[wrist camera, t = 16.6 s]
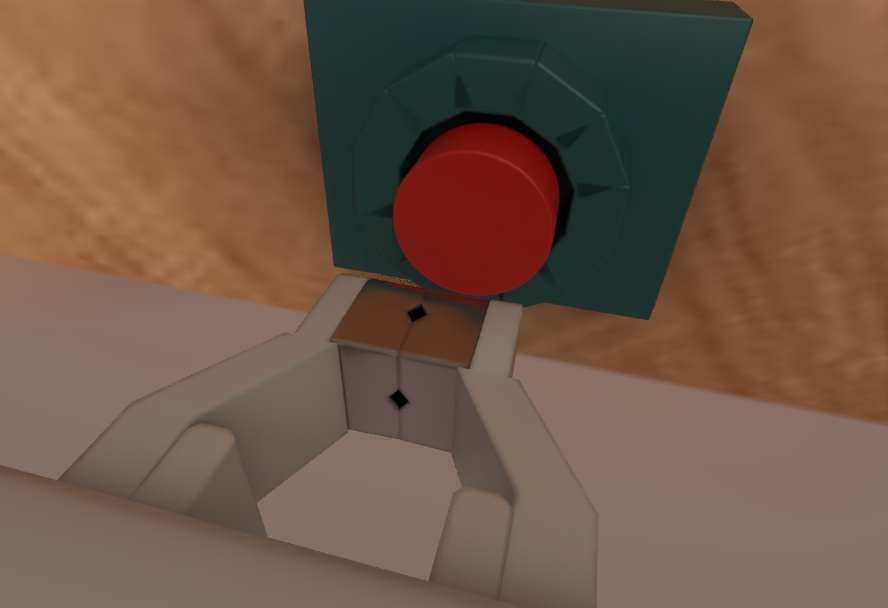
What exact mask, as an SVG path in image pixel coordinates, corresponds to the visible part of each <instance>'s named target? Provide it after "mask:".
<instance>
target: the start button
mask: <svg viewBox="0 0 888 608" xmlns="http://www.w3.org/2000/svg"><path fill="white" fill-rule="evenodd" d="M559 199H560V197H559V185H558V180H557V177H556V174H555V171H554V169H553V167H552V165H551V163H550V161H549V160H548V158H547V157H546V155H545V154H544V152H543V151H542V150H541V149H540V148H539V147H538V146H537V145H536V144H535V143H534V142H532V141H531V140H530V139H529V138H527V137H526V136H524V135H523V134H521V133H519V132H517V131H515V130H513V129H511V128H508V127H505V126H502V125H497V124H491V123H472V124H466V125H461V126H458V127H455V128H453V129H450V130H448V131H447V132H445V133H443V134H441V135H440V136H439V137H437V138H436V139H435V140H434V141H433V142H432V143H431V144H430V145H429V146H428V147H427V148H426V150H425V151H424V152H423V154H422V155H421V156H420V158H419V159H418V160H417V162H416V163H415V164H414V166H413V167H412V169H411V170H410V171H409V173H408V174H407V175H406V177H405V178H404V179H403V181H402V183H401V185H400V186H399V188H398V191H397V194H396V197H395V201H394V206H393V223H394V229H395V233H396V237H397V240H398V242H399V245H400V247H401V249H402V251H403V253H404V254H405V256H406V257H407V258H408V260H409V261H410V262H411V264H412V265H413V266H414V267H415V268H416V269H417V270H418V271H419V272H420V273H421V274H422V275H424V276H425V277H426V278H428V279H429V280H431V281H432V282H434V283H436V284H437V285H439V286H441V287H443V288H446V289H448V290H451V291H454V292H457V293H461V294H466V295H474V296H487V295H495V294H500V293H504V292H507V291H510V290H512V289H514V288H517V287H519V286H521V285H522V284H523V283H525V282H526V281H528V280H529V279H530V278H532V277H533V276H534V275H535V274H536V273H537V272H538V271H539V269H540V268H541V267H542V266H543V264H544V262H545V261H546V259H547V257H548V255H549V253H550V250H551V247H552V243H553V238H554V232H555V226H556V220H557V214H558V208H559Z"/></svg>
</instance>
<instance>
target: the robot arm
mask: <svg viewBox="0 0 888 608" xmlns="http://www.w3.org/2000/svg"><path fill="white" fill-rule="evenodd" d="M522 313H523V306H522V304H516V303H510V302H503V301H496V300H491V301H489V300H483V299H477V298H471V297H465V296H460V295H454V294H448V293H442V292H436V291H430V290H428V289H423V288H417V287H412V286H407V285H402V284H397V283H392V282H387V281H382V280H377V279H369V278H366V277H360V276H355V275H349V274H344V273H342V274H340V275H337V276H336V277H335V278H334V279H333V281H332V282H331V283H330V285H329V286H328V288H327V289H326V290H325V292H324V293H323V295H322V296H321V297H320V299H319V300H318V301H317V303H316V304H315V306H314V307H313V308H312V310H311V311H310V312H309V314H308V315H307V317H306V318H305V319H304V321H303V322H302V323H301V325H300V326H299V328H298V329H297V330H296V332H295V333H294V334H289V333H283V334H281V335H279V336H276V337H274V338H272V339H270V340H268V341H266V342H263V343H261V344H259V345H257V346H254V347H252V348H250V349H248V350H246V351H243V352H241V353H239V354H237V355H235V356H233V357H230V358H228V359H226V360H224V361H221V362H219V363H217V364H215V365H213V366H210V367H208V368H206V369H204V370H202V371H199V372H197V373H195V374H193V375H190V376H188V377H186V378H184V379H182V380H179V381H177V382H175V383H173V384H171V385H168V386H166V387H164V388H162V389H160V390H158V391H155V392H153V393H151V394H149V395H146V396H144V397H143V398H140V399H138V400H135V401H133V402H131V403H130V404H129V405H128V406H127V407H126V408H125V409H124V410H123V412H121V414H119V416H118V417H117V418H116V419H115V420H114V421H113V422H112V423H111V424H110V425H109V426H108V427H107V428H106V429H105V430H104V431H103V432H102V434H100V436H99V437H98V438H97V439H96V440H95V441H94V442H93V443H92V444H91V445H90V446H89V447H88V448H87V449H86V450H85V451H84V452H83V453H82V455H81V456H80V457H79V458H78V459H77V460H76V461H75V462H74V463H73V464H72V465H71V466H70V467H69V468H68V469H67V470H66V471H65V472H64V473H63V474H62V476H61V477H60V478H59V479H58V480H54V479H50V478H46V477H43V476H39V475H36V474H32V473H28V472H24V471H20V470H17V469H13V468H10V467H6V466H2V465H0V608H596V601H597V599H596V598H597V550H598V513H597V511H596V510H595V508H594V506H593V505H592V503H591V501H590V500H589V498H588V496H587V495H586V493H585V491H584V489H583V488H582V486H581V484H580V483H579V481H578V479H577V478H576V476H575V474H574V472H573V471H572V469H571V468H570V466H569V464H568V462H567V461H566V459H565V457H564V456H563V454H562V452H561V451H560V449H559V447H558V446H557V444H556V442H555V440H554V439H553V437H552V435H551V434H550V432H549V430H548V428H547V427H546V425H545V423H544V422H543V420H542V418H541V417H540V415H539V413H538V412H537V410H536V409H535V407H534V405H533V403H532V401H531V400H530V398H529V396H528V395H527V393H526V391H525V390H524V388H523V386H522V385H521V383H520V381H519V380H518V379H515V378H512V375H513V369H514V363H515V357H516V350H517V344H518V338H519V332H520V326H521V320H522ZM348 429H350V430H355V431H360V432H365V433H370V434H375V435H380V436H385V437H390V438H395V439H400V440H404V441H408V442H412V443H416V444H419V445H423V446H428V447H431V448H435V449H439V450H443V451H447V452H451V453H452V457H453V460H454V463H455V467H456V469H457V473H458V475H459V479H460V482H461V485H462V488H460V489H459V490H457V491H455V492H453V496H452V499H451V503H450V506H449V510H448V513H447V517H446V520H445V524H444V528H443V531H442V535H441V538H440V542H439V545H438V549H437V552H436V556H435V560H434V563H433V567H432V570H431V574H430V578H429V581H426V580H422V579H418V578H415V577H411V576H408V575H404V574H400V573H397V572H393V571H389V570H386V569H382V568H378V567H375V566H371V565H367V564H363V563H360V562H356V561H352V560H349V559H345V558H342V557H338V556H334V555H330V554H327V553H323V552H320V551H316V550H312V549H308V548H305V547H301V546H297V545H294V544H290V543H286V542H282V541H279V540H275V539H272V538H268V537H267V533H266V530H265V527H264V524H263V521H262V518H261V515H260V512H259V509H258V506H257V502H258V501H259V500H261V499H262V498H263V497H265V496H266V495H267V494H269V493H270V492H271V491H272V490H274V489H275V488H276V487H278V486H279V485H280V484H282V483H283V482H284V481H285V480H287V479H288V478H289V477H291V476H292V475H293V474H294V473H296V472H297V471H298V470H300V469H301V468H302V467H304V466H305V465H306V464H308V463H309V462H310V461H311V460H313V459H314V458H315V457H316V456H318V455H319V454H321V453H322V452H323V451H324V450H326V449H327V448H328V447H330V446H331V445H332V444H334V443H335V442H336V441H337V440H339V439H340V438H341V437H343V436H344V435H345V434H346V433H348Z"/></svg>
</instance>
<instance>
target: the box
mask: <svg viewBox="0 0 888 608" xmlns="http://www.w3.org/2000/svg"><path fill="white" fill-rule="evenodd" d="M304 9H305V17H306V26H307V35H308V43H309V52H310V61H311V69H312V78H313V87H314V96H315V104H316V113H317V122H318V130H319V139H320V148H321V157H322V165H323V174H324V183H325V191H326V200H327V209H328V217H329V226H330V235H331V244H332V252H333V261H334V266H335V267H341V268H347V269H352V270H358V271H364V272H370V273H376V274H382V275H387V276H393V277H399V278H405V279H409V280H411V281H412V282H414V283H415V284H417V285H418V286H420V287H422V288H423V289H428V290H430V291H436V292H442V293H448V294H454V295H460V296H465V297H471V298H477V299H483V300H489V301H491V300H496V301H503V302H510V303H516V304H522V306H523V308H525V307H529V306H533V305H536V304H540V303H544V302H545V303H551V304H557V305H563V306H569V307H575V308H580V309H586V310H592V311H598V312H604V313H610V314H616V315H621V316H627V317H633V318H639V319H645V320H649V319H650V317H651V314H652V311H653V309H654V306H655V303H656V300H657V297H658V294H659V291H660V288H661V285H662V283H663V280H664V277H665V274H666V271H667V268H668V265H669V262H670V260H671V257H672V254H673V251H674V248H675V245H676V242H677V239H678V236H679V234H680V231H681V228H682V225H683V222H684V219H685V216H686V213H687V210H688V208H689V205H690V202H691V199H692V196H693V193H694V190H695V187H696V185H697V182H698V179H699V176H700V173H701V170H702V167H703V164H704V161H705V159H706V156H707V153H708V150H709V147H710V144H711V141H712V138H713V135H714V133H715V130H716V127H717V124H718V121H719V118H720V115H721V112H722V110H723V107H724V104H725V101H726V98H727V95H728V92H729V89H730V86H731V84H732V81H733V78H734V75H735V72H736V69H737V66H738V63H739V60H740V58H741V55H742V52H743V49H744V46H745V43H746V40H747V37H748V34H749V32H750V29H751V26H752V23H753V18H751V17H750V16H749V15H748V14H747V13H746V12H744V11H743V10H742V9H741V8H740V7H739V6H737V5H736V4H735V3H734V2H725V1H711V0H304ZM472 123H491V124H497V125H502V126H505V127H508V128H511V129H513V130H515V131H517V132H519V133H521V134H523V135H524V136H526V137H527V138H529V139H530V140H531V141H532V142H534V143H535V144H536V145H537V146H538V147H539V148H540V149H541V150H542V151H543V152H544V154H545V155H546V157H547V158H548V160H549V161H550V163H551V165H552V167H553V169H554V171H555V174H556V177H557V180H558V185H559V197H560V199H559V208H558V214H557V220H556V226H555V232H554V238H553V243H552V247H551V250H550V253H549V255H548V257H547V259H546V261H545V262H544V264H543V266H542V267H541V268H540V269H539V271H538V272H537V273H536V274H535V275H534V276H533V277H532V278H530V279H529V280H528V281H526V282H525V283H523V284H522V285H521V286H519V287H517V288H514V289H512V290H510V291H507V292H504V293H500V294H495V295H487V296H474V295H466V294H461V293H457V292H454V291H451V290H448V289H446V288H443V287H441V286H439V285H437V284H436V283H434V282H432V281H431V280H429V279H428V278H426V277H425V276H424V275H422V274H421V273H420V272H419V271H418V270H417V269H416V268H415V267H414V266H413V265H412V264H411V262H410V261H409V260H408V258H407V257H406V256H405V254H404V253H403V251H402V249H401V247H400V245H399V242H398V240H397V237H396V233H395V229H394V223H393V206H394V201H395V197H396V194H397V191H398V188H399V186H400V185H401V183H402V181H403V179H404V178H405V177H406V175H407V174H408V173H409V171H410V170H411V169H412V167H413V166H414V164H415V163H416V162H417V160H418V159H419V158H420V156H421V155H422V154H423V152H424V151H425V150H426V148H427V147H428V146H429V145H430V144H431V143H432V142H433V141H434V140H435V139H436V138H437V137H439V136H440V135H441V134H443V133H445V132H447V131H448V130H450V129H453V128H455V127H458V126H461V125H466V124H472Z"/></svg>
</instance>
